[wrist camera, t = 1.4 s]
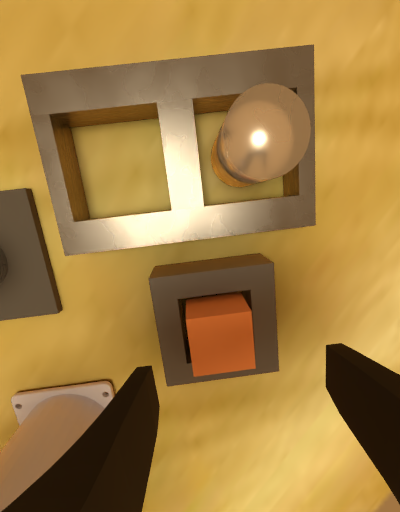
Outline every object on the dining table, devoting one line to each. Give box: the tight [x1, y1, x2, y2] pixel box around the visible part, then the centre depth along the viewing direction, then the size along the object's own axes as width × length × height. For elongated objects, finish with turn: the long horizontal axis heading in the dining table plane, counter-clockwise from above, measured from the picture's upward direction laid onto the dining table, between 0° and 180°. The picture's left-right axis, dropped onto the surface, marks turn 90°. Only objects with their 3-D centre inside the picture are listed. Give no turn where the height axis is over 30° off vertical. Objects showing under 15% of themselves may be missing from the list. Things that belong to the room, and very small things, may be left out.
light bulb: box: [211, 83, 311, 187], centre depth 14 cm, size 4×4×6 cm
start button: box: [186, 292, 256, 377], centre depth 16 cm, size 4×4×3 cm
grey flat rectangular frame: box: [21, 45, 316, 256], centre depth 15 cm, size 10×16×2 cm, turn 97°
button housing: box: [149, 253, 279, 386], centre depth 18 cm, size 8×8×3 cm
